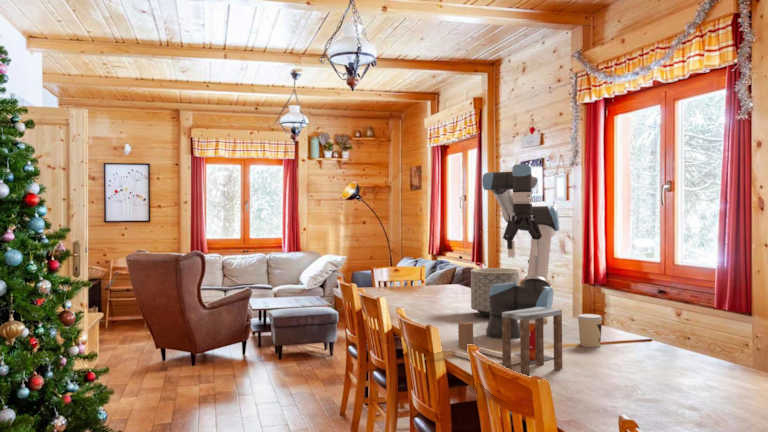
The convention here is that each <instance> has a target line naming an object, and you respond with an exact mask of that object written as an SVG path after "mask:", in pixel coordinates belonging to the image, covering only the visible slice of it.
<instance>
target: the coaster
mask: <svg viewBox="0 0 768 432" xmlns="http://www.w3.org/2000/svg"><path fill="white" fill-rule="evenodd" d="M513 355H514V356H518V357H521V352H519V353H515V354H513ZM553 360H554V357H552V356H551V357H550V356H547V355H544V362H549V361H553ZM529 362H530V366H531V365H536V360H529Z"/></svg>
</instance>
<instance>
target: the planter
mask: <svg viewBox="0 0 768 432" xmlns="http://www.w3.org/2000/svg"><path fill="white" fill-rule="evenodd" d="M506 282H516V284H517V285H516V286H520V270H519V269H516V268H506V267H504V268H503V267H485V268H484V267H483V268H472V269H470V308H471V309H472V310H474V311H477V312H478V313H479V314H481V316H484V317H487V316H488V318H490V296H489V295H490V287H491V286H492V285H494V284H499V283H506Z"/></svg>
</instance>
